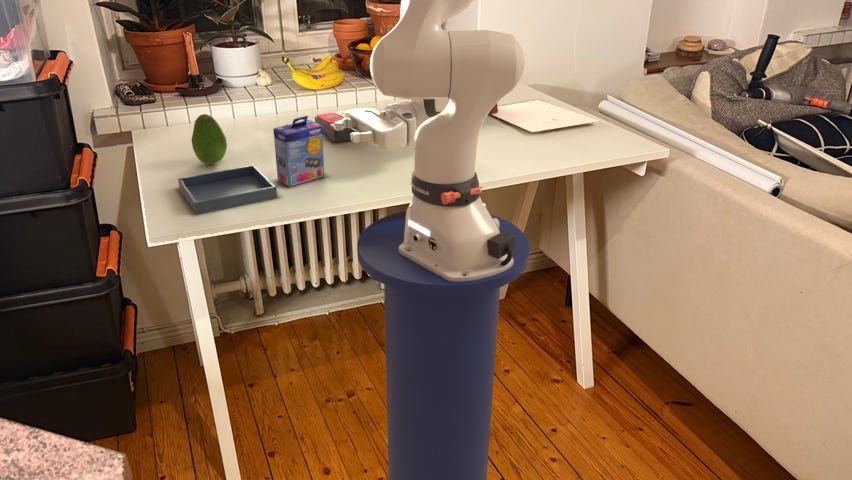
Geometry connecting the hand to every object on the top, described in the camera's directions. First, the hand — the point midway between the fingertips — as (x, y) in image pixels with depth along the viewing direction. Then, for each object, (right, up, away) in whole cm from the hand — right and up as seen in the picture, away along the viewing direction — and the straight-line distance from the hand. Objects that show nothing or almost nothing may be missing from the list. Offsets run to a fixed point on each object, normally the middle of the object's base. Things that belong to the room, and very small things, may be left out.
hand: (343, 132), depth 157 cm
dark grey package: (-1, +6, +29) cm, 30 cm away
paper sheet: (+52, +12, +38) cm, 65 cm away
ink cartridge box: (-9, -11, 0) cm, 14 cm away
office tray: (-24, -14, -6) cm, 29 cm away
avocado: (-32, -6, +10) cm, 34 cm away
